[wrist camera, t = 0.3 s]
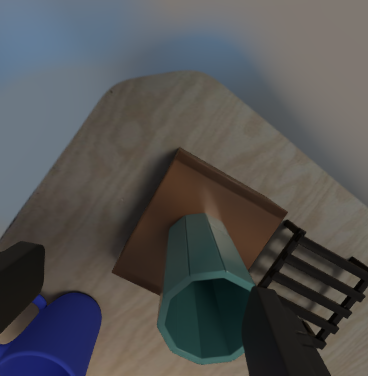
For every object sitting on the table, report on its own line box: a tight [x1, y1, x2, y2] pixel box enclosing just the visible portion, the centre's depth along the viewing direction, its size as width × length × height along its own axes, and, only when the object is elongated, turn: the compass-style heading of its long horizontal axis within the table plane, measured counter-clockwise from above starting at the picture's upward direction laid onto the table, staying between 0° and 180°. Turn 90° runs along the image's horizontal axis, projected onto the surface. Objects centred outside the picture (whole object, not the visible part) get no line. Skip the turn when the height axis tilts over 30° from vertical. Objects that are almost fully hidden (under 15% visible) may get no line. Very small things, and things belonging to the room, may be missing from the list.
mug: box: [0, 293, 102, 376], centre depth 26 cm, size 8×12×10 cm
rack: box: [257, 220, 368, 350], centre depth 29 cm, size 12×11×4 cm
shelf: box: [112, 148, 288, 296], centre depth 26 cm, size 14×12×6 cm
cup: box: [157, 213, 256, 365], centre depth 18 cm, size 6×6×10 cm
